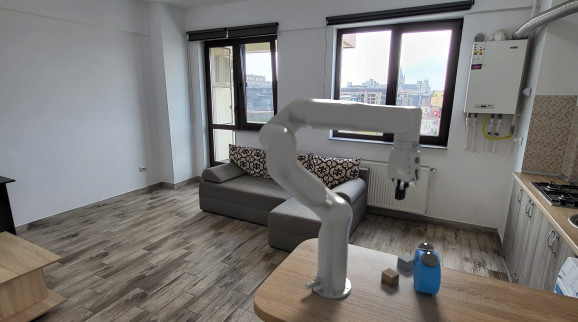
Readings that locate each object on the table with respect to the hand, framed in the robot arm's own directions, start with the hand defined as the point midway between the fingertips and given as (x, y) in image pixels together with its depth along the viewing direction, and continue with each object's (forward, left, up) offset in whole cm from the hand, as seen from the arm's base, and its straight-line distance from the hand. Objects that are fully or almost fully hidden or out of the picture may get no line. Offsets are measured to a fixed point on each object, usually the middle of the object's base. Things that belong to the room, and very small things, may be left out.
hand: (399, 199), depth 98 cm
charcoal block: (+6, 0, -28) cm, 29 cm away
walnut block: (-6, -3, -28) cm, 29 cm away
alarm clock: (+1, -11, -28) cm, 30 cm away
